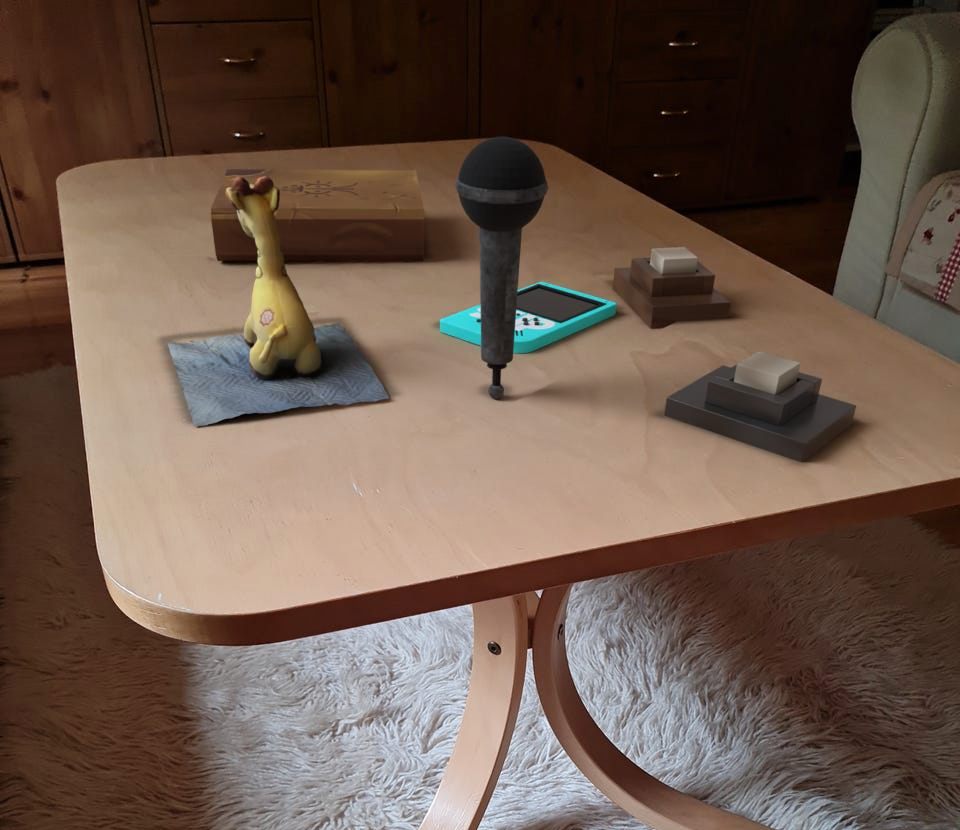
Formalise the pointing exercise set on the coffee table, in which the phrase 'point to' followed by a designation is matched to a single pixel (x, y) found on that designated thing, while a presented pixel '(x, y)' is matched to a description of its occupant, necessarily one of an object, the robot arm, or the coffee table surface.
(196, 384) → the giraffe figurine
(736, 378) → the near key
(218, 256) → the brown wooden box
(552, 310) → the handheld game console
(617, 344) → the coffee table surface
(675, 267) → the far key
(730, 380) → the near block
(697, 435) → the coffee table surface
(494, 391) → the microphone
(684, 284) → the far block
